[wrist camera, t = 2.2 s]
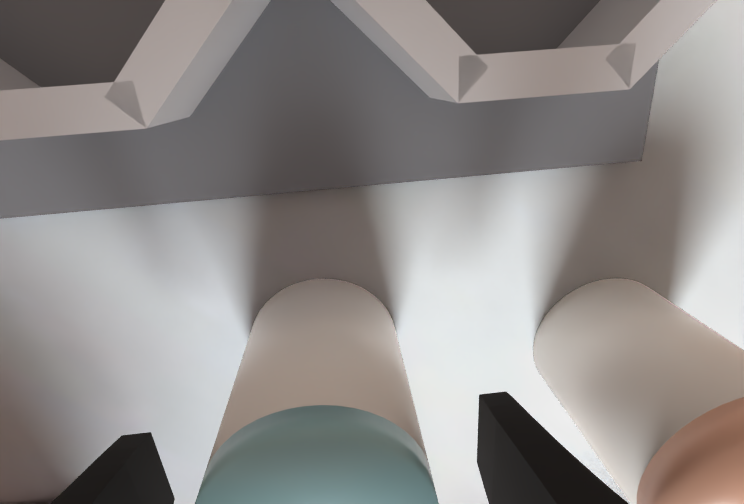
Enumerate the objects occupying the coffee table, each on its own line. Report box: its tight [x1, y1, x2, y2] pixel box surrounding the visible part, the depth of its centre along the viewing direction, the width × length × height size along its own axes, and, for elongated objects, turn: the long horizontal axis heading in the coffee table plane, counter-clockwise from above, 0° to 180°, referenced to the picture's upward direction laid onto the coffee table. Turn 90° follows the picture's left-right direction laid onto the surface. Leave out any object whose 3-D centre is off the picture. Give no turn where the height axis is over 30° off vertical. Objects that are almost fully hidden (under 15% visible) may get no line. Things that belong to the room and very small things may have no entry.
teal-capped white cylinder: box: [195, 278, 439, 504], centre depth 10 cm, size 4×4×6 cm
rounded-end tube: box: [533, 278, 744, 504], centre depth 11 cm, size 4×4×6 cm
